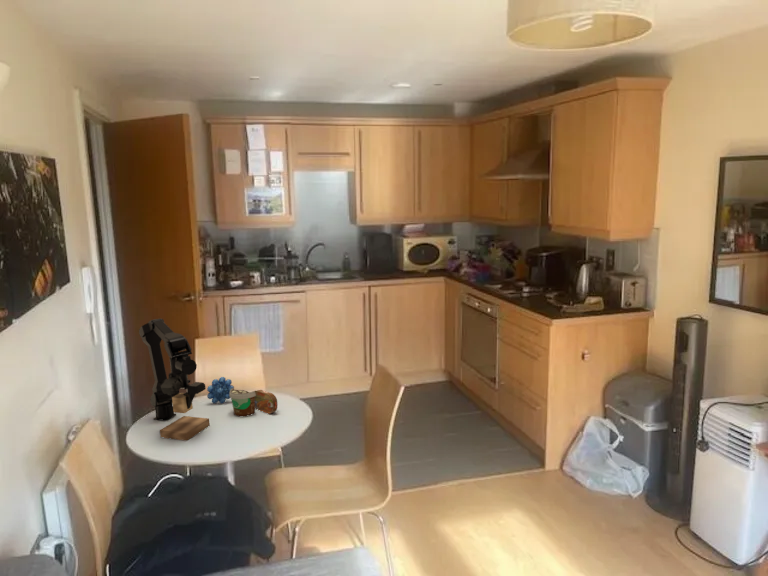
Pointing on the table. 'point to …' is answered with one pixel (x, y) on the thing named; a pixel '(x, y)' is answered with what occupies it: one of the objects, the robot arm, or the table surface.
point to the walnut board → (185, 428)
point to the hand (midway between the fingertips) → (183, 407)
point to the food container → (242, 402)
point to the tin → (265, 401)
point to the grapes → (219, 390)
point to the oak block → (180, 403)
